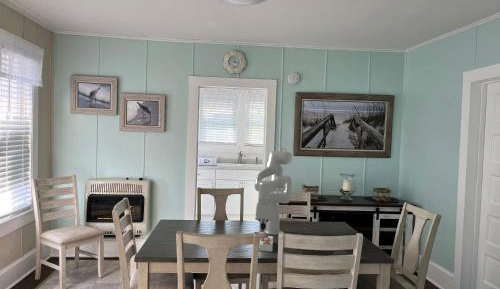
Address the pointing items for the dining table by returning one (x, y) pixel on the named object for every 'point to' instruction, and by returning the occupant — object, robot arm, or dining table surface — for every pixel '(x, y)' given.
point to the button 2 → (267, 241)
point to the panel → (266, 247)
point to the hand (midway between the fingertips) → (263, 229)
